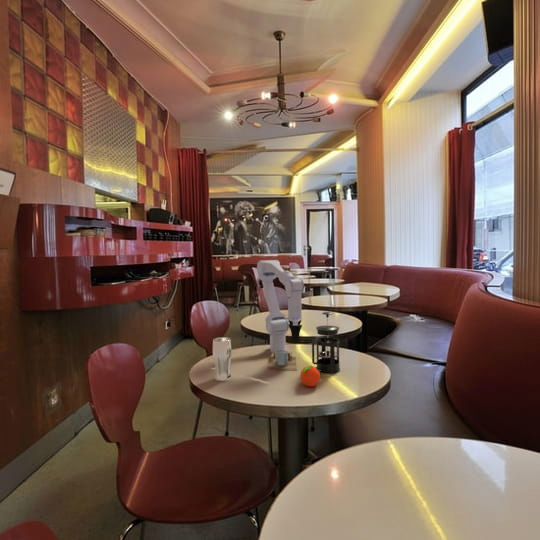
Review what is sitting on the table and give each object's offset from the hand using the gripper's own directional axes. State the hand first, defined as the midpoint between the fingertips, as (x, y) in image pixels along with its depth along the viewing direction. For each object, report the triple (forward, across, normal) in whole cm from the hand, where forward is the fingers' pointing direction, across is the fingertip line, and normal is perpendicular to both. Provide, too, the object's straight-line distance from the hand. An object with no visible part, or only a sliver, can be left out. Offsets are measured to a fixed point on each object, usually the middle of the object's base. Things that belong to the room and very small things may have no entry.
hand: (295, 338), depth 155 cm
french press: (+10, +11, +12) cm, 19 cm away
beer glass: (+10, +20, -28) cm, 36 cm away
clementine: (+10, +28, +4) cm, 30 cm away
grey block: (+9, +10, -6) cm, 14 cm away
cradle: (+10, +5, -6) cm, 13 cm away
